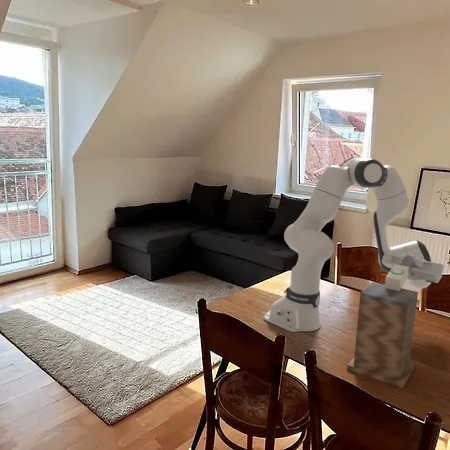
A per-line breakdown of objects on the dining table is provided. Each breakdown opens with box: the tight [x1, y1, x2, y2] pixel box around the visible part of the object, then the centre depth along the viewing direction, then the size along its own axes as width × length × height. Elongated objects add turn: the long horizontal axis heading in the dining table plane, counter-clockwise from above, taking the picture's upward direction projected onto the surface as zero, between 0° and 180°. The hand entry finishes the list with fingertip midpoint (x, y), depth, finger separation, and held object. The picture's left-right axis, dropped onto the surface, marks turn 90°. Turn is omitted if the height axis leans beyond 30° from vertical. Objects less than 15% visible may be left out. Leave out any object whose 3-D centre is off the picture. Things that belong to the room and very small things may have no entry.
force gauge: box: [384, 255, 416, 291], centre depth 143 cm, size 4×22×4 cm, turn 144°
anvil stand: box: [346, 281, 419, 389], centre depth 136 cm, size 17×15×26 cm
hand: (408, 259), depth 148 cm, fingers closed on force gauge, 3 cm apart
